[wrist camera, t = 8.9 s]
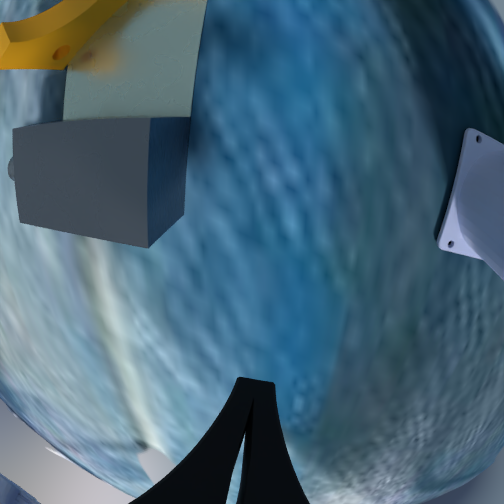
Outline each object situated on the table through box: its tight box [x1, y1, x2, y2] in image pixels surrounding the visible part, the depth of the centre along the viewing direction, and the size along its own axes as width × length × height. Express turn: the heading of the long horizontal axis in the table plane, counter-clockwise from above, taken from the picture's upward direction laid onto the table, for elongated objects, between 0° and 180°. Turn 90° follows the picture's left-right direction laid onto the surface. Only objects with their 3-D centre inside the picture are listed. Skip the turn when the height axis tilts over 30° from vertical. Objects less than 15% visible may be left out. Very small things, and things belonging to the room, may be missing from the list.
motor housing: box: [8, 0, 208, 248], centre depth 11 cm, size 13×22×5 cm, turn 173°
